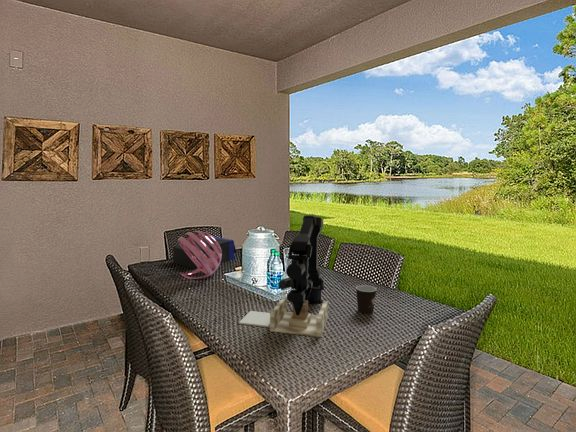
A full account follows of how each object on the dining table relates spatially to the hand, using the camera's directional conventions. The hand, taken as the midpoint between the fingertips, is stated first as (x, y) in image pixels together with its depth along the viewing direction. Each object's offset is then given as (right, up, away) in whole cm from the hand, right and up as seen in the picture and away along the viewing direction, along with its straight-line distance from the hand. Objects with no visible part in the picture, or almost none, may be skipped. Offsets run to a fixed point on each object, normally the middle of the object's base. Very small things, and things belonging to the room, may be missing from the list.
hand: (300, 310), depth 135 cm
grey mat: (-17, -5, +5) cm, 18 cm away
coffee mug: (+30, -4, +14) cm, 34 cm away
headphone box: (-61, +6, +102) cm, 119 cm away
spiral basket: (-56, +2, +66) cm, 87 cm away
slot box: (0, -5, +1) cm, 5 cm away
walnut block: (0, -2, 0) cm, 2 cm away
